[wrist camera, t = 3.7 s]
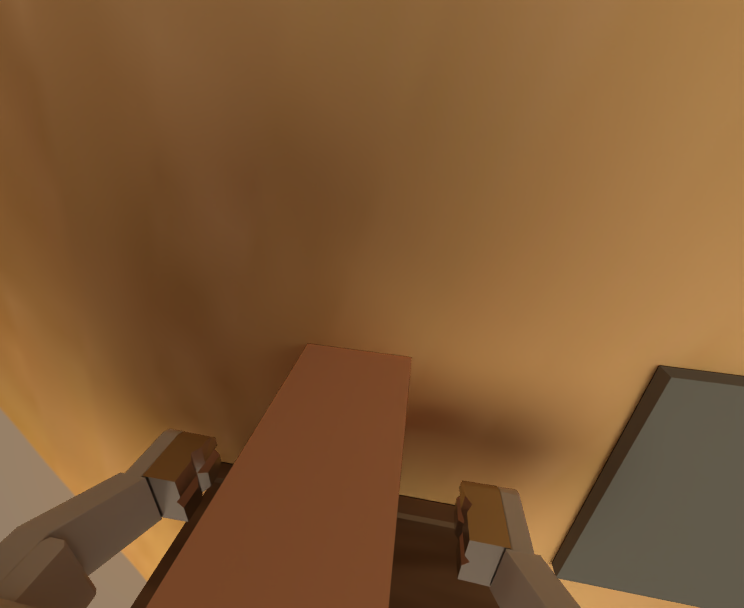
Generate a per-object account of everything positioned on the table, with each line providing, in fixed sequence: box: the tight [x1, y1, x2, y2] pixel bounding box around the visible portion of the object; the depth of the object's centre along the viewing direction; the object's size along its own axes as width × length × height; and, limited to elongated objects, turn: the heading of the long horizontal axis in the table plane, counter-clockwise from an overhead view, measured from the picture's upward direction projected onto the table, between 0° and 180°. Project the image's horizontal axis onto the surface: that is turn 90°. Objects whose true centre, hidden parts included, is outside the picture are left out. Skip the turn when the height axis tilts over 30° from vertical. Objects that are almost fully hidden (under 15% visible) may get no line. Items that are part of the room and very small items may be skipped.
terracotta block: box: [146, 344, 412, 608], centre depth 9 cm, size 4×4×9 cm
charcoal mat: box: [552, 366, 744, 608], centre depth 13 cm, size 12×8×1 cm, turn 178°
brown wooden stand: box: [131, 463, 500, 608], centre depth 14 cm, size 5×14×6 cm, turn 87°
